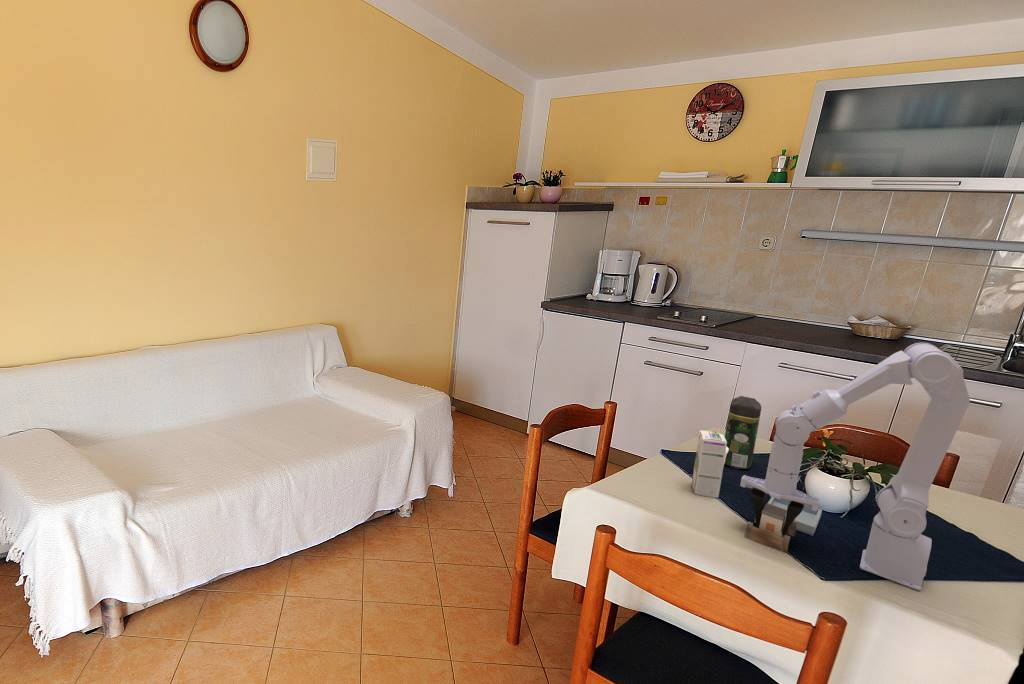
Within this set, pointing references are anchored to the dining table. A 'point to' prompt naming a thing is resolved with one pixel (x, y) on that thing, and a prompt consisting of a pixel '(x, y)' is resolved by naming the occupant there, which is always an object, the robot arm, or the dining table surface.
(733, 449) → the coffee jar
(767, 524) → the small beige carton
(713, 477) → the syrup box
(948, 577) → the dining table surface
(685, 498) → the dining table surface
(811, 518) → the tray
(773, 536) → the rail holder
